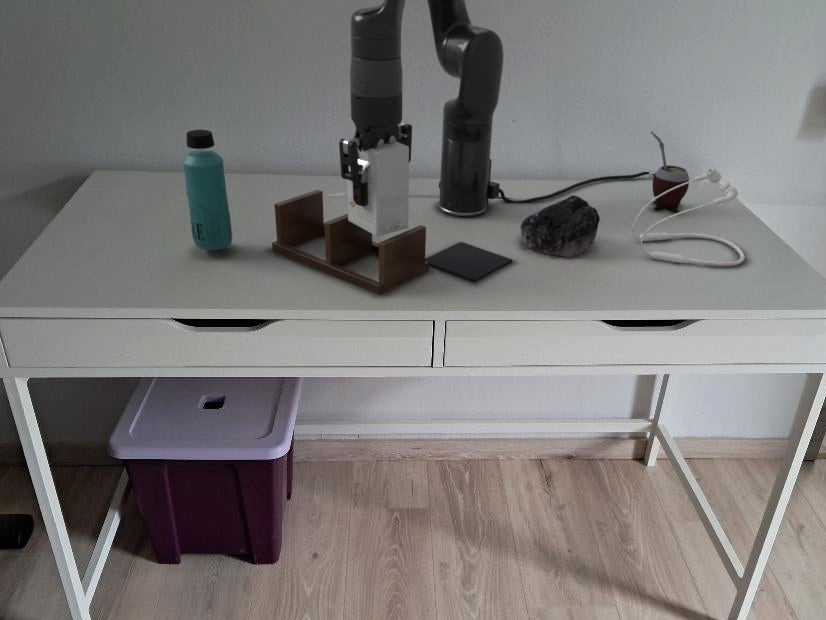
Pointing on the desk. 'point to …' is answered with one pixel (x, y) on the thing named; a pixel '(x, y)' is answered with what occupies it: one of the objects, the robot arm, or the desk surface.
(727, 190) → the earphone
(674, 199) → the mate gourd
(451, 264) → the mat
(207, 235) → the beverage bottle
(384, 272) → the rack
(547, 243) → the crystal cluster
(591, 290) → the desk surface
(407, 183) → the small box
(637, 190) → the desk surface
